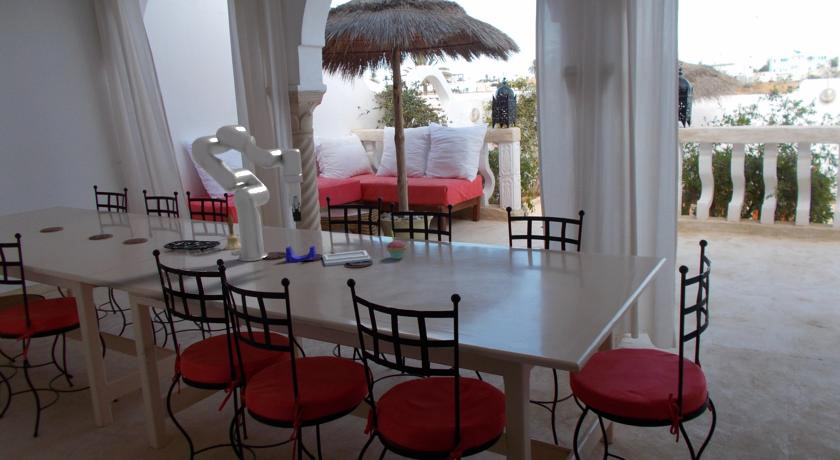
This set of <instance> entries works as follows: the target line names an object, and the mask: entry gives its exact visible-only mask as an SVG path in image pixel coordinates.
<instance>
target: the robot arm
mask: <svg viewBox="0 0 840 460" xmlns="http://www.w3.org/2000/svg"><path fill="white" fill-rule="evenodd" d="M256 142H257V141H256V138H255V137H254V136H252V135H251V134H249V133H248V131H247V130H246V128H245V127H244V126H242V125H240V124H231V125H229V124H228V125H223V126H221V127H219V128H218V129H217V131H216V134H212V135H204V136H200V137H197V138H196V139H194V141H192V143H191V148H190V149H191V155H192V158H193V160H194V162H195V163H196V164H197V165H198V167H200V168H201V169H202V170H203V171H204V172H205V173H207V175H209V176H210V177H211V178H212V180H214V181H215V183H216V184H218V185H219V186H220V187H221V188H222V189H223V190H224V191H225V192H228V193H234V194H233V198H232V199H233V204H234V207H235V210H236V216H237V223H238V231H239V240H240V244H241V248H239V249H237V250H230V255H231V256H234V257H235V256H236V257H237V256H238V260H239V261H241V262H255V261H256V262H257V261H261V260H264V259H263V258H265V257H267V256H268V257H269V254H268V253H267V252H265V250H264V249H265V248H264V247H265V246H264V240H263V239H264V238H263V230H262V229H263V228H262V221H261V215H260V212H259V211H258V208H257V207H260V206H261V207H262V206H264V205H266V204H267V203H268V202H269V200H270V191H269V189H268V188H267V186H265V184H264V183H263V182H262V181H261V180H260V179H258V177H257V176H256V175H255V174H254V173H252V171H250V170H249V169H247V168H244V167H243V168H232V167H230V165H228V164H227V163H226V162H225V161H224V160H222V159H221V158H219V157H218V156H216V155H221V154H224V153H227V152H229V151H230V150H233V151H236V152H238V153H240V154H242V155H243V156H244V157H245V158H246V160H248V162H250V163H252V164H254V165H255V166H258V167H261V168H262V169H273V168H278V167H282V168H283V179H284V180H283V181H284V184H286V187H287V189H286V190H287V199H288V206H289V207H290V208H291V211H292V219H293V223H294V222H302V211H301V208H300V207H301V206H302V195H301V194H302V193H301V192H302V191H301V189H302V188H301V183H303V182H304V180H303V169H302V159H301V158H302V156H301V155H302V154H301V151H300V149H298V148H287V149H286V148H281V147H279V148H272V149H271V148H270V149H265V148H261V147H259V146H258V145H256V144H257V143H256ZM268 257H267V258H268ZM265 259H266V258H265Z"/></svg>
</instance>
